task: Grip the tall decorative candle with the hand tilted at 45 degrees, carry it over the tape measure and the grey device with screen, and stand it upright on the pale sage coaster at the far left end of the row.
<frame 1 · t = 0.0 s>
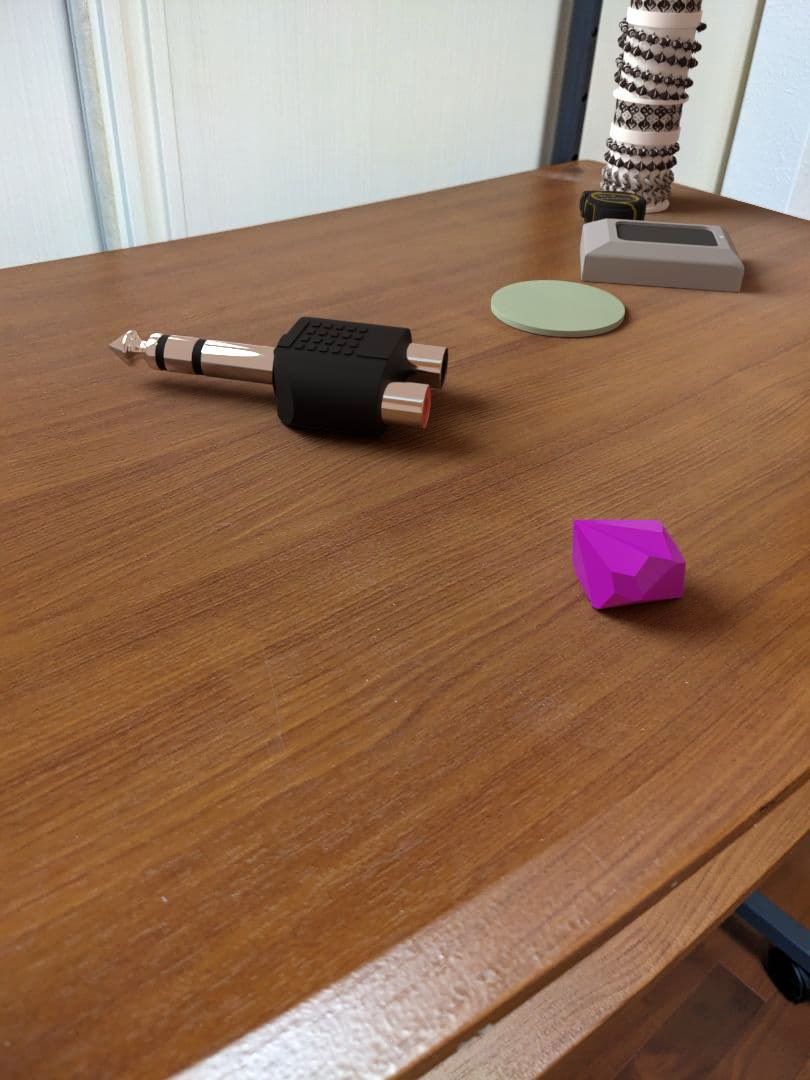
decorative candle: (632, 204, 112), on the table
grey device with screen: (655, 271, 93), on the table
coaster: (556, 310, 83), on the table
tape measure: (607, 229, 103), on the table
audio adapter: (270, 400, 68), on the table
crystal: (621, 596, 51), on the table
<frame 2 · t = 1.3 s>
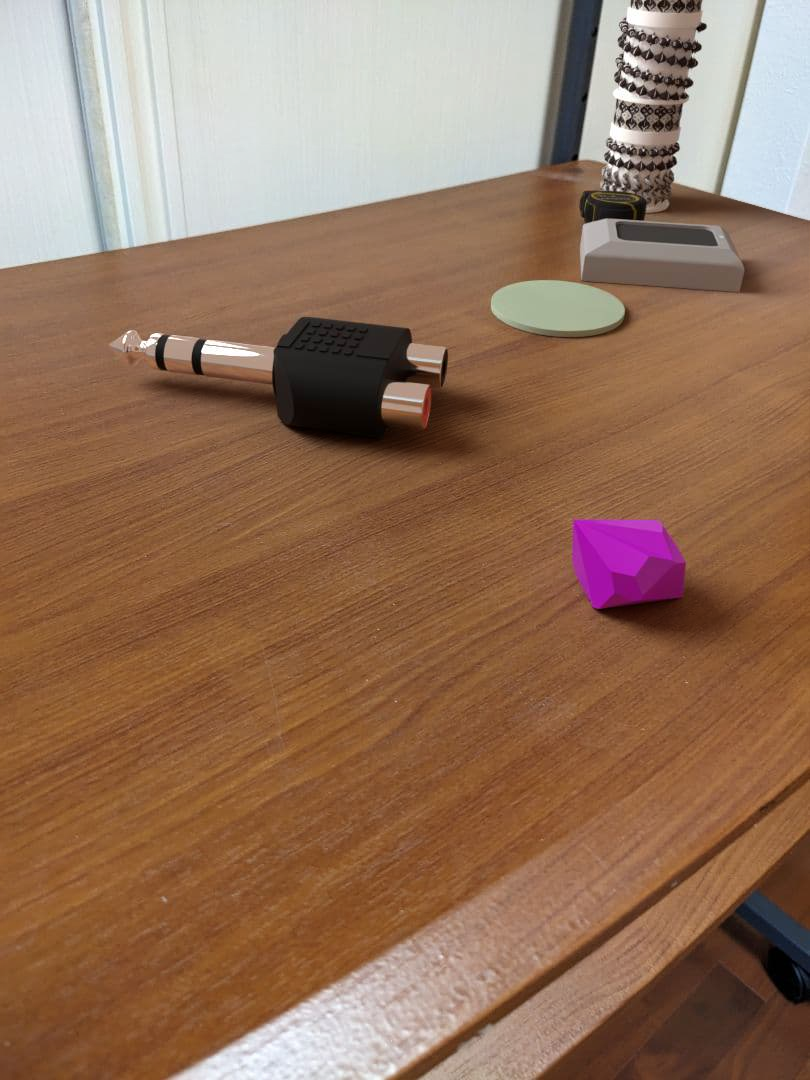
nothing on the table moved.
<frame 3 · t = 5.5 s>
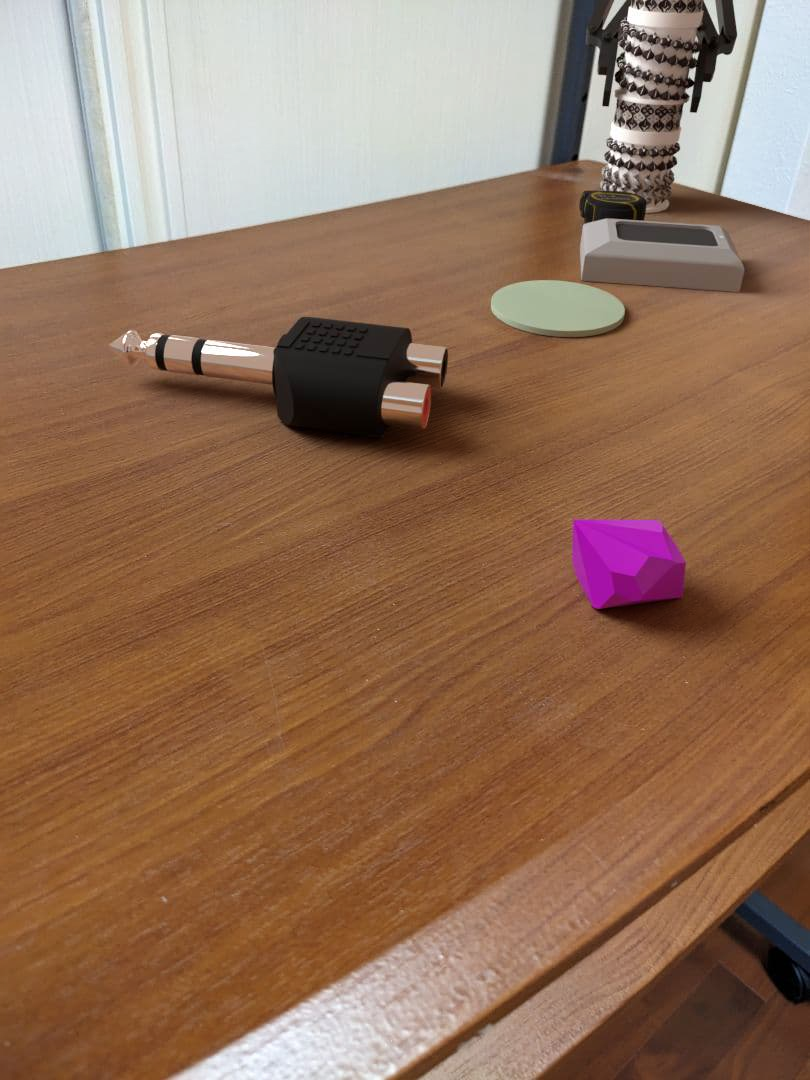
hand: (650, 101, 102), 12 cm above the table, tool tilted 45°, fingers closed on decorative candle, 9 cm apart
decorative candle: (632, 204, 112), on the table, touching gripper
everything else where it was.
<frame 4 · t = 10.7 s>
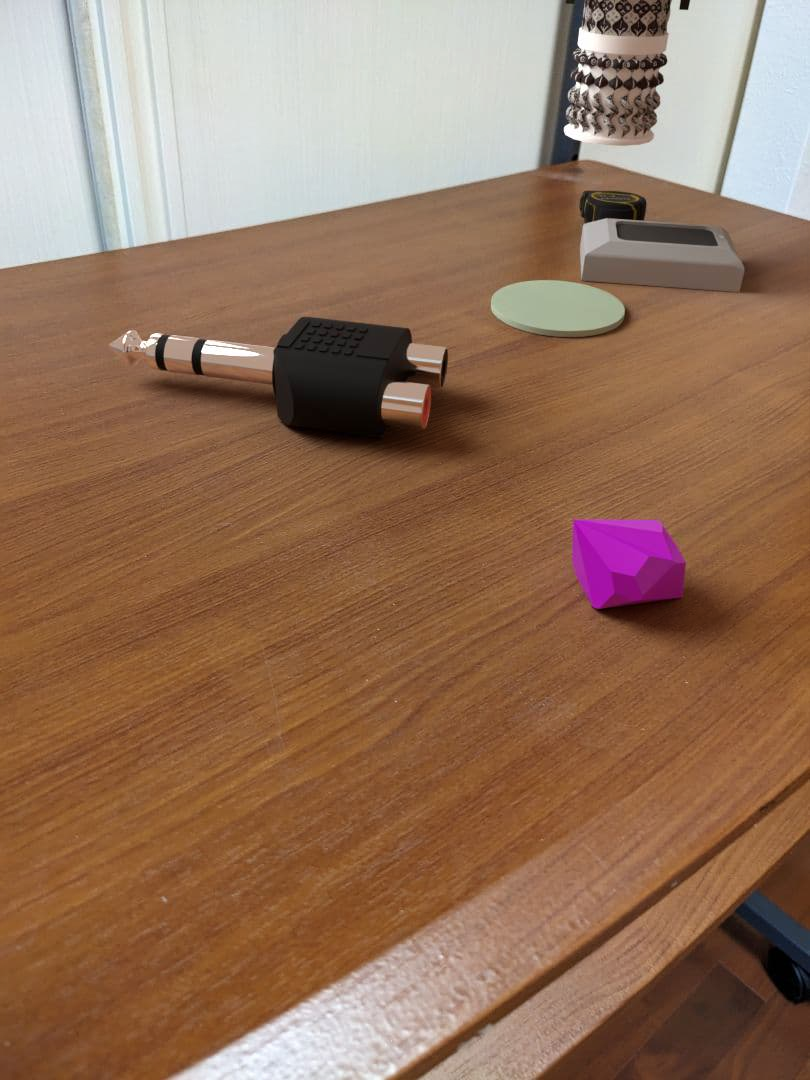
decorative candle: (607, 136, 88), point 12 cm above the table, touching gripper
everything else where it was.
when the fingers open (12 cm above the table, at t = 16.1 s): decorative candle stays where it is, resting on coaster.
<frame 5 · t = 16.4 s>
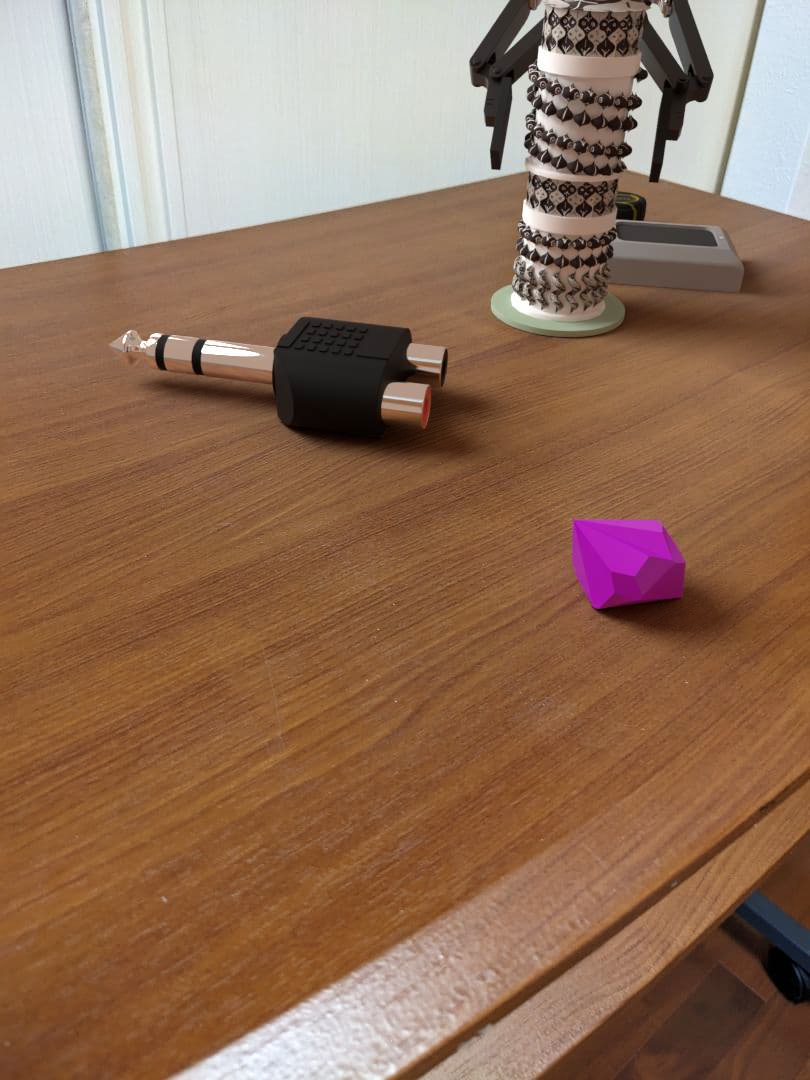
hand: (574, 167, 74), 13 cm above the table, tool tilted 45°, fingers open, 12 cm apart
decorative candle: (557, 305, 83), resting on coaster
everything else where it was.
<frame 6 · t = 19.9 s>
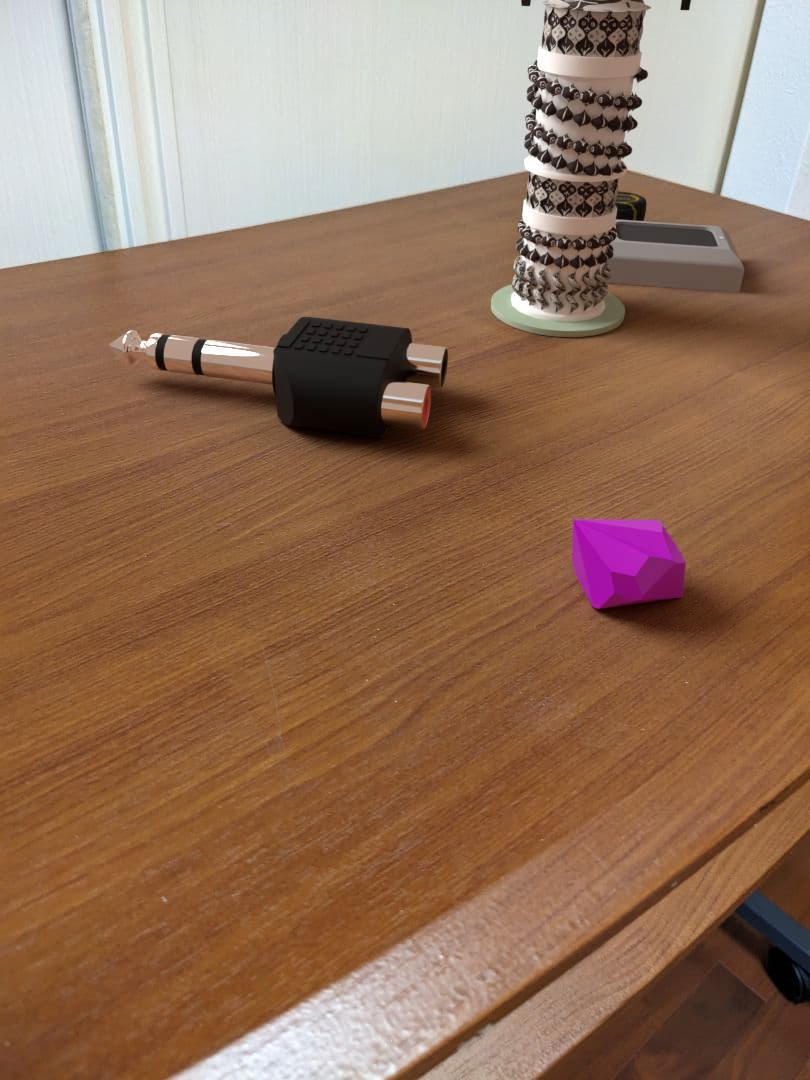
nothing on the table moved.
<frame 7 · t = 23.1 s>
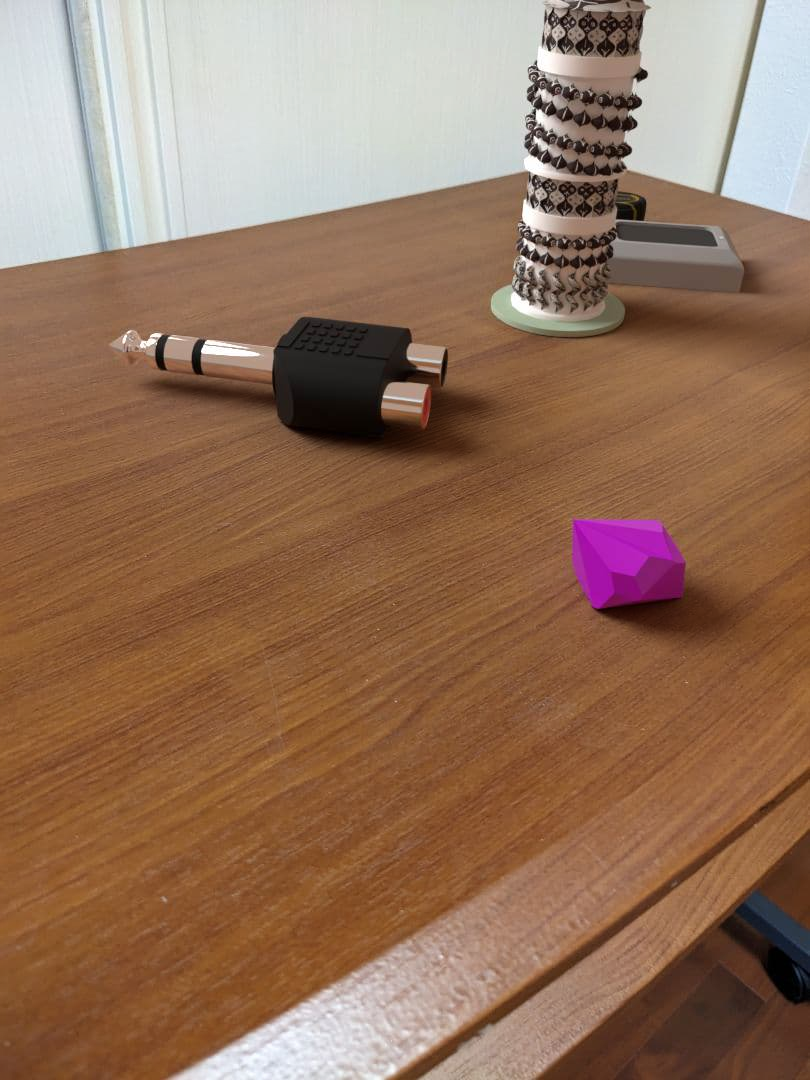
nothing on the table moved.
at the end: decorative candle 0.1 cm off-centre on the coaster, point 0.4 cm above the coaster's base; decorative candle inside the target area on the table beside the tape measure (0.1 cm from its centre), point 0.6 cm above the table; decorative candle tilted 0° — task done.
